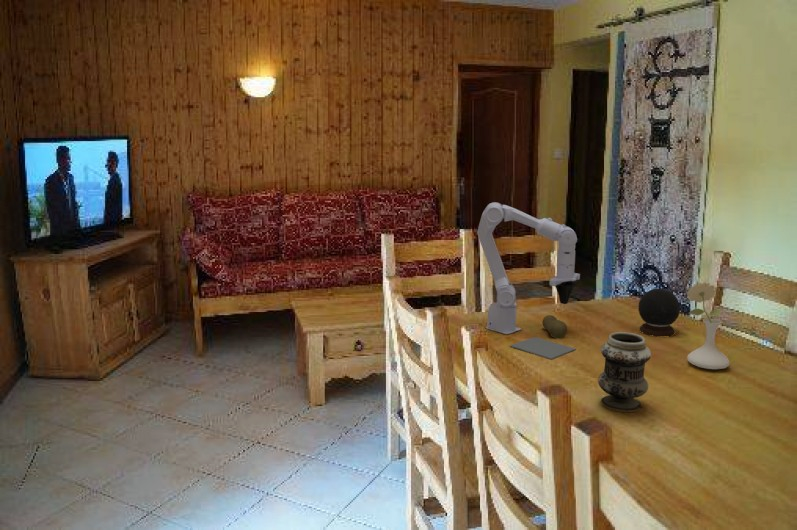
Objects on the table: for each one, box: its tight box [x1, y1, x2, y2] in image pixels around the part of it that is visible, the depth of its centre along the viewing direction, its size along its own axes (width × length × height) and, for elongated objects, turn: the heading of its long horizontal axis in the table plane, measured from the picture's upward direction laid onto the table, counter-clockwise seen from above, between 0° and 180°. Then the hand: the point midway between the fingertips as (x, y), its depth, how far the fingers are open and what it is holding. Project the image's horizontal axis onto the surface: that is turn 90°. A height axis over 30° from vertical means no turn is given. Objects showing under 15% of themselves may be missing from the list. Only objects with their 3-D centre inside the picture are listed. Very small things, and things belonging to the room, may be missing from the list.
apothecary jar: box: [597, 331, 652, 413], centre depth 164 cm, size 12×12×18 cm
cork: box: [541, 314, 568, 339], centre depth 222 cm, size 6×6×11 cm
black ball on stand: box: [637, 288, 681, 337], centre depth 222 cm, size 13×13×15 cm
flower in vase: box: [686, 281, 731, 370], centre depth 190 cm, size 13×11×25 cm
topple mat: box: [509, 336, 577, 360], centre depth 208 cm, size 16×13×1 cm
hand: (563, 303), depth 221 cm, fingers closed
